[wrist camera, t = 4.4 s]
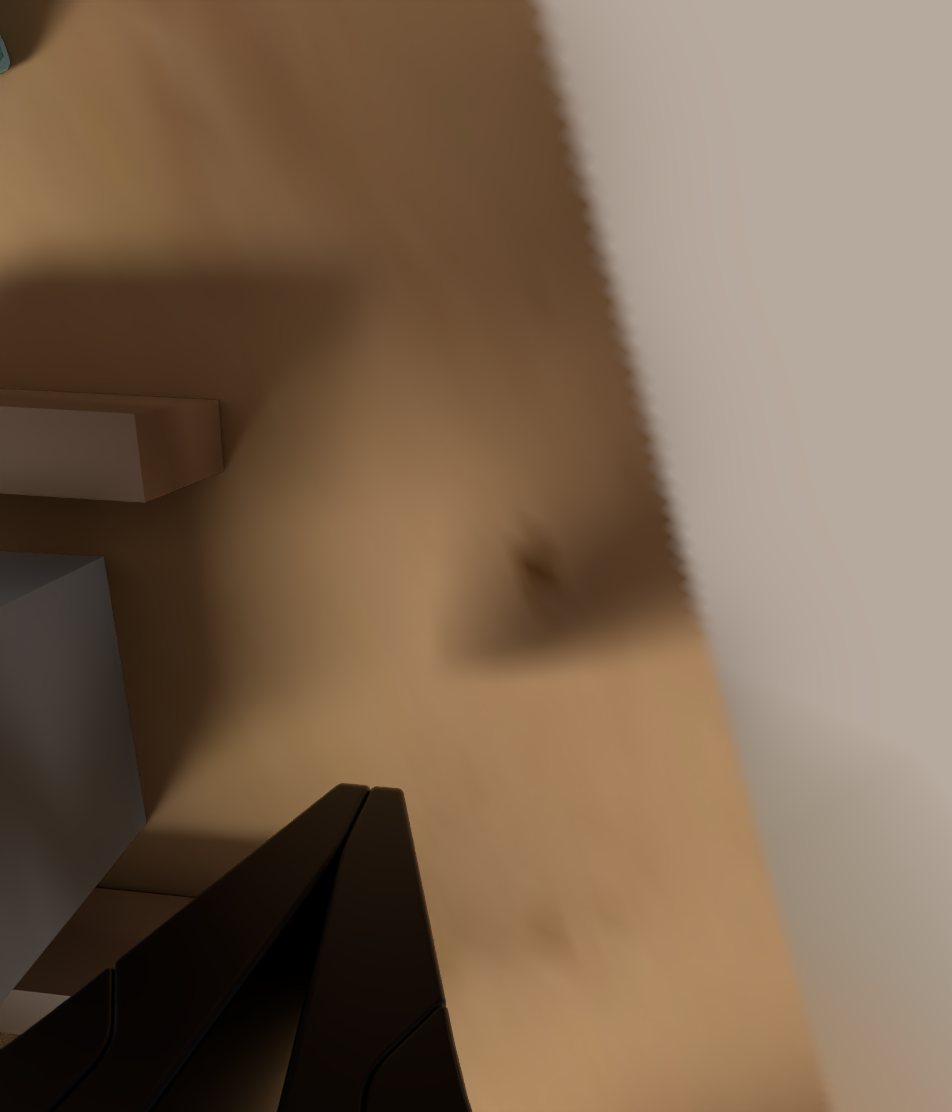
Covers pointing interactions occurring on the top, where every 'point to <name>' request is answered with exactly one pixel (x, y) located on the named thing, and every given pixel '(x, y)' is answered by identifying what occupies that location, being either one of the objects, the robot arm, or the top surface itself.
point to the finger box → (119, 475)
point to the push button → (3, 57)
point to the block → (59, 749)
